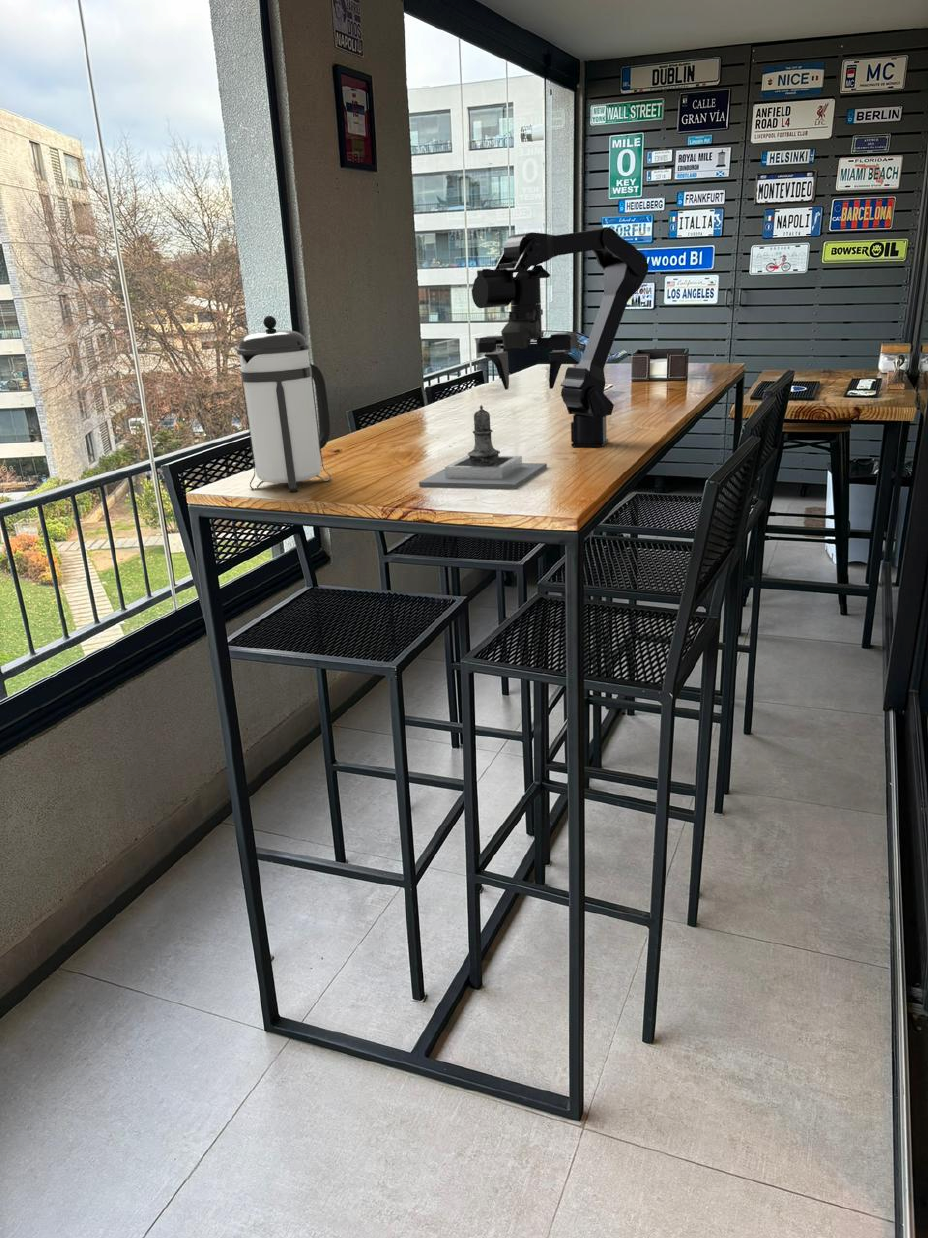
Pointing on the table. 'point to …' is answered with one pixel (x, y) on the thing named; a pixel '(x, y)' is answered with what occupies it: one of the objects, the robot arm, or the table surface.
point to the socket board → (507, 483)
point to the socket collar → (483, 468)
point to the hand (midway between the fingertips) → (528, 388)
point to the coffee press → (283, 406)
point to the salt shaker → (483, 441)
